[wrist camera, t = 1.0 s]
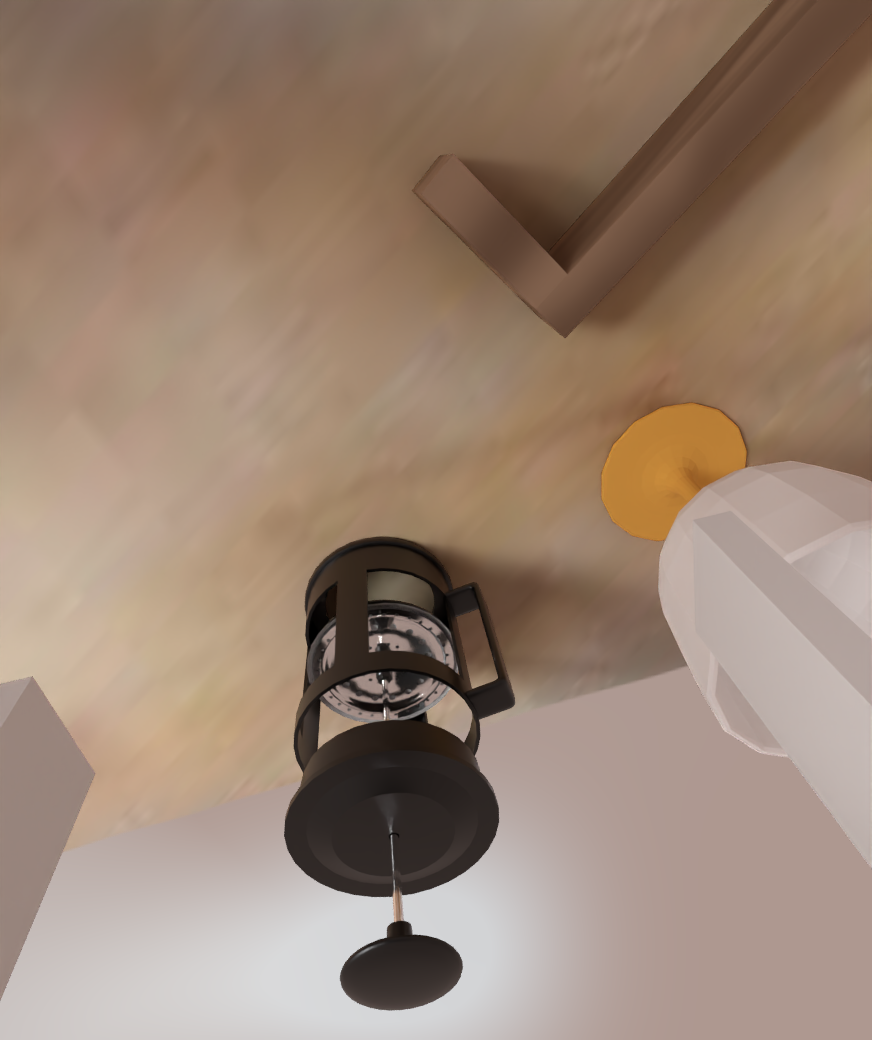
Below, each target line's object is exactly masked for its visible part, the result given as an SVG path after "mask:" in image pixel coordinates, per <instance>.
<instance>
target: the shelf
mask: <svg viewBox="0 0 872 1040" xmlns="http://www.w3.org/2000/svg"><path fill="white" fill-rule="evenodd" d="M871 14H872V0H773V1H772V2H771V3H770V4H769V6H768V7H767V8H766V9H765V10H764V11H763V12H762V13H761V15H760V16H759V17H758V18H757V19H756V20H755V21H754V22H753V24H752V25H751V26H750V27H749V28H748V29H747V30H746V31H745V32H744V34H743V35H742V36H741V37H740V38H739V39H738V40H737V41H736V43H735V44H734V45H733V46H732V47H731V48H730V49H729V50H728V51H727V53H726V54H725V55H724V56H723V57H722V58H721V59H720V60H719V62H718V63H717V64H716V65H715V66H714V67H713V68H712V69H711V70H710V72H709V73H708V74H707V75H706V76H705V77H704V78H703V79H702V81H701V82H700V83H699V84H698V85H697V86H696V87H695V88H694V90H693V91H692V92H691V93H690V94H689V95H688V96H687V97H686V98H685V100H684V101H683V102H682V103H681V104H680V105H679V106H678V107H677V109H676V110H675V111H674V112H673V113H672V114H671V115H670V116H669V117H668V119H667V120H666V121H665V122H664V123H663V124H662V125H661V126H660V128H659V129H658V130H657V131H656V132H655V133H654V134H653V135H652V137H651V138H650V139H649V140H648V141H647V142H646V143H645V144H644V145H643V147H642V148H641V149H640V150H639V151H638V152H637V153H636V154H635V156H634V157H633V158H632V159H631V160H630V161H629V162H628V163H627V164H626V166H625V167H624V168H623V169H622V170H621V171H620V172H619V173H618V175H617V176H616V177H615V178H614V179H613V180H612V181H611V182H610V183H609V185H608V186H607V187H606V188H605V189H604V190H603V191H602V192H601V194H600V195H599V196H598V197H597V198H596V199H595V200H594V201H593V203H592V204H591V205H590V206H589V207H588V208H587V209H586V210H585V211H584V213H583V214H582V215H581V216H580V217H579V218H578V219H577V220H576V222H575V223H574V224H573V225H572V226H571V227H570V228H569V229H568V230H567V232H566V233H565V234H564V235H563V236H562V237H561V238H560V239H559V241H558V242H557V243H556V244H555V245H554V246H553V247H552V248H551V250H550V251H549V252H548V253H547V252H546V251H545V250H544V249H543V248H542V247H541V246H540V244H539V243H538V242H537V241H536V240H535V239H534V238H533V237H532V236H531V235H530V234H529V233H528V232H527V231H526V230H525V229H524V228H523V227H522V226H521V224H520V223H519V222H518V221H517V220H516V219H515V218H514V217H513V216H512V215H511V214H510V213H509V212H508V211H507V210H506V209H505V208H504V207H503V205H502V204H501V203H500V202H499V201H498V200H497V199H496V198H495V197H494V196H493V195H492V194H491V193H490V192H489V191H488V190H487V189H486V188H485V187H484V185H483V184H482V183H481V182H480V181H479V180H478V179H477V178H476V177H475V176H474V175H473V174H472V173H471V172H470V171H469V170H468V169H467V168H466V167H465V165H464V164H463V163H462V162H461V161H460V160H459V159H458V158H457V157H456V156H455V155H454V154H450V155H442V156H439V158H438V159H437V160H436V161H435V163H434V164H433V165H432V166H431V168H430V169H429V170H428V171H427V173H426V174H425V175H424V176H423V178H422V179H421V180H420V181H419V183H418V184H417V185H416V186H415V188H414V189H413V190H412V191H413V192H414V193H415V194H416V195H417V196H418V197H419V198H420V199H421V200H422V201H423V202H424V203H425V204H426V205H427V206H428V207H429V208H430V209H431V210H432V211H433V212H434V213H435V214H436V215H437V216H438V217H439V218H440V219H441V220H442V221H443V222H444V223H445V224H446V225H447V226H448V227H449V228H450V229H451V230H452V231H453V232H454V233H455V234H456V235H457V236H458V237H459V238H460V239H461V240H462V241H463V242H464V243H465V244H466V245H467V246H468V247H469V248H470V249H471V250H472V251H473V252H474V253H475V254H476V255H477V256H478V257H479V258H480V259H481V260H482V261H483V262H484V263H485V264H486V265H487V266H488V267H489V268H490V269H491V270H492V271H493V272H494V273H495V274H496V275H497V276H498V277H499V278H500V279H501V280H502V281H503V282H504V283H505V284H506V285H507V286H508V287H509V288H510V289H511V290H512V291H513V292H514V293H515V294H516V295H517V296H518V297H519V298H520V299H521V300H522V301H523V302H524V303H525V304H526V305H527V306H528V307H529V308H530V309H531V310H532V311H533V312H534V313H535V314H536V315H538V316H539V317H540V318H541V319H542V320H543V321H544V322H546V323H547V324H548V325H549V326H551V327H552V328H553V329H554V330H556V331H557V332H558V333H559V334H560V335H562V336H563V337H564V338H566V337H567V336H568V335H569V334H570V333H571V332H572V331H573V329H574V328H575V327H576V326H577V325H578V324H579V323H580V322H581V321H582V320H583V319H584V318H585V317H586V316H587V315H588V314H589V313H590V311H591V310H592V309H593V308H594V307H595V306H596V305H597V304H598V303H599V302H600V301H601V300H602V299H603V298H604V297H605V296H606V295H607V293H608V292H609V291H610V290H611V289H612V288H613V287H614V286H615V285H616V284H617V283H618V282H619V281H620V280H621V279H622V278H623V277H624V275H625V274H626V273H627V272H628V271H629V270H630V269H631V268H632V267H633V266H634V265H635V264H636V263H637V262H638V261H639V260H640V259H641V257H642V256H643V255H644V254H645V253H646V252H647V251H648V250H649V249H650V248H651V247H652V246H653V245H654V244H655V243H656V242H657V241H658V239H659V238H660V237H661V236H662V235H663V234H664V233H665V232H666V231H667V230H668V229H669V228H670V227H671V226H672V225H673V224H674V223H675V221H676V220H677V219H678V218H679V217H680V216H681V215H682V214H683V213H684V212H685V211H686V210H687V209H688V208H689V207H690V206H691V205H692V203H693V202H694V201H695V200H696V199H697V198H698V197H699V196H700V195H701V194H702V193H703V192H704V191H705V190H706V189H707V188H708V187H709V185H710V184H711V183H712V182H713V181H714V180H715V179H716V178H717V177H718V176H719V175H720V174H721V173H722V172H723V171H724V170H725V169H726V167H727V166H728V165H729V164H730V163H731V162H732V161H733V160H734V159H735V158H736V157H737V156H738V155H739V154H740V153H741V152H742V151H743V149H744V148H745V147H746V146H747V145H748V144H749V143H750V142H751V141H752V140H753V139H754V138H755V137H756V136H757V135H758V134H759V133H760V131H761V130H762V129H763V128H764V127H765V126H766V125H767V124H768V123H769V122H770V121H771V120H772V119H773V118H774V117H775V116H776V115H777V113H778V112H779V111H780V110H781V109H782V108H783V107H784V106H785V105H786V104H787V103H788V102H789V101H790V100H791V99H792V98H793V97H794V95H795V94H796V93H797V92H798V91H799V90H800V89H801V88H802V87H803V86H804V85H805V84H806V83H807V82H808V81H809V80H810V79H811V77H812V76H813V75H814V74H815V73H816V72H817V71H818V70H819V69H820V68H821V67H822V66H823V65H824V64H825V63H826V62H827V61H828V59H829V58H830V57H831V56H832V55H833V54H834V53H835V52H836V51H837V50H838V49H839V48H840V47H841V46H842V45H843V44H844V43H845V41H846V40H847V39H848V38H849V37H850V36H851V35H852V34H853V33H854V32H855V31H856V30H857V29H858V28H859V27H860V26H861V25H862V23H863V22H864V21H865V20H866V19H867V18H868V17H869V16H870V15H871Z"/></svg>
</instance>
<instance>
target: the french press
mask: <svg viewBox="0 0 872 1040" xmlns="http://www.w3.org/2000/svg"><path fill="white" fill-rule="evenodd" d="M375 571H394V572H400V573H405V574H409V575H412V576H414V577H417V578H419V579H421V580H424V581H425V582H427V583H428V584H429V585H430V586H431V588H432V591H433V594H434V607H433V612H432V613H430V612H428V611H427V610H425V609H423V608H421V607H418V606H416V605H413V604H410V603H406V602H401V601H394V600H372V601H368V589H367V572H375ZM337 584H338V586H337V610H336V616H334V617H333V618H332V619H331V620H329V618H328V616H327V612H326V606H325V604H326V598H327V594H328V591H329V590H330V589H332V588H333V587H335V586H336V585H337ZM476 609H479V610H480V614H481V617H482V621H483V625H484V628H485V632H486V635H487V639H488V642H489V646H490V649H491V653H492V657H493V660H494V664H495V667H496V671H497V674H498V679H497V680H495V681H493V682H490V683H488V684H485V685H482V686H479V687H477V688H474V689H472V687H471V682H470V678H469V673H468V669H467V665H466V660H465V656H464V651H463V647H462V642H461V638H460V633H459V629H458V624H457V620H456V617H457V616H460V615H463V614H465V613H468V612H471V611H473V610H476ZM305 611H306V616H307V620H306V634H305V636H306V641H307V646H308V649H307V659H306V669H305V679H304V690H303V697H302V699H301V701H300V704H299V707H298V710H297V713H296V723H295V732H294V750H295V755H296V760H297V762H298V764H299V766H300V768H301V769H302V771H303V777H302V782H301V786H300V787H299V789H298V791H297V792H296V794H295V795H294V797H293V798H292V800H291V802H290V804H289V807H288V810H287V813H286V817H285V832H284V833H285V834H284V837H285V841H286V845H287V849H288V851H289V853H290V855H291V856H292V858H293V860H294V862H295V863H296V864H297V865H298V866H299V867H300V868H301V869H302V870H303V871H304V872H305V873H306V874H307V875H308V876H310V877H311V878H313V879H314V880H316V881H317V882H319V883H321V884H323V885H325V886H328V887H330V888H332V889H335V890H337V891H341V892H345V893H349V894H353V895H361V896H370V897H393V907H394V922H393V923H391V924H390V925H389V926H388V927H387V938H384V939H380V940H377V941H375V942H373V943H370V944H368V945H366V946H364V947H362V948H360V949H359V950H357V951H356V952H355V953H354V954H353V955H351V956H350V958H349V959H348V960H347V961H346V962H345V964H344V966H343V968H342V970H341V975H340V981H341V985H342V988H343V990H344V991H345V993H346V994H347V995H348V996H349V997H350V998H351V999H352V1000H354V1001H356V1002H357V1003H359V1004H361V1005H364V1006H367V1007H370V1008H375V1009H379V1010H404V1009H411V1008H415V1007H419V1006H423V1005H425V1004H428V1003H430V1002H433V1001H435V1000H436V999H438V998H440V997H442V996H444V995H445V994H446V993H447V992H449V991H450V990H451V989H452V988H453V987H454V986H455V985H456V984H457V982H458V980H459V979H460V977H461V973H462V969H463V966H462V959H461V957H460V955H459V953H458V952H457V951H456V950H455V949H454V948H453V947H452V946H451V945H449V944H448V943H446V942H444V941H442V940H440V939H437V938H433V937H429V936H423V935H412V927H411V924H410V923H408V922H406V921H404V919H403V905H402V895H408V894H414V893H417V892H421V891H425V890H429V889H432V888H434V887H437V886H439V885H442V884H444V883H446V882H449V881H450V880H452V879H454V878H456V877H457V876H459V875H461V874H462V873H464V872H465V871H467V870H468V869H469V868H470V867H471V866H473V865H474V864H475V863H476V862H478V860H479V859H480V858H481V857H482V856H483V855H484V853H485V852H486V851H487V850H488V849H489V847H490V844H491V843H492V841H493V839H494V837H495V835H496V831H497V827H498V823H499V808H498V803H497V800H496V796H495V793H494V790H493V788H492V786H491V785H490V783H489V782H488V780H487V779H486V777H485V776H484V775H483V774H482V773H481V772H480V769H479V766H478V763H477V760H476V758H475V754H476V752H477V749H478V745H479V740H480V723H479V719H482V718H485V717H487V716H490V715H493V714H496V713H499V712H501V711H504V710H507V709H509V708H512V707H513V706H514V705H515V697H514V693H513V690H512V687H511V683H510V680H509V677H508V673H507V670H506V667H505V663H504V660H503V657H502V653H501V650H500V647H499V644H498V640H497V637H496V634H495V630H494V627H493V624H492V620H491V617H490V614H489V610H488V607H487V604H486V602H485V599H484V597H483V595H482V592H481V590H480V587H479V586H478V584H477V583H474V582H473V583H470V584H467V585H464V586H462V587H459V588H456V589H454V590H453V587H452V583H451V580H450V577H449V575H448V573H447V571H446V570H445V568H444V566H443V565H442V564H441V563H440V562H439V561H438V559H437V558H436V557H435V556H434V555H432V554H431V553H430V552H428V551H427V550H425V549H424V548H423V547H421V546H418V545H416V544H414V543H412V542H409V541H405V540H401V539H397V538H388V537H375V538H365V539H362V540H358V541H355V542H351V543H349V544H347V545H345V546H343V547H341V548H339V549H337V550H335V551H334V552H333V553H331V554H330V555H329V556H327V557H326V558H325V559H324V560H323V561H322V562H321V563H320V565H319V566H318V567H317V568H316V569H315V571H314V573H313V575H312V576H311V578H310V580H309V583H308V586H307V590H306V594H305ZM458 671H459V675H458V674H457V673H458ZM450 688H452V689H453V690H455V691H456V692H457V693H458V694H459V695H460V696H461V697H462V698H463V699H464V700H465V702H466V703H467V705H468V706H469V708H470V709H471V711H472V717H473V718H472V723H471V728H470V731H469V734H468V736H467V738H466V740H465V742H462V741H461V740H460V739H459V738H458V737H456V736H455V735H453V734H451V733H450V732H448V731H446V730H445V729H442V728H439V727H436V726H434V725H431V724H428V720H427V713H426V711H427V710H428V709H430V708H431V707H433V706H434V705H436V704H437V703H438V702H439V701H440V700H441V699H442V698H443V697H444V696H445V695H446V694H447V692H448V691H449V690H450ZM321 701H322V702H323V703H324V704H325V705H326V706H328V707H329V708H330V709H331V710H333V711H335V712H337V713H338V714H340V715H342V716H344V717H347V718H350V719H353V720H356V721H361V722H367V723H368V724H364V725H361V726H357V727H354V728H352V729H350V730H347V731H345V732H343V733H341V734H339V735H337V736H335V737H334V738H332V739H331V740H329V741H328V742H326V743H325V744H324V745H323V746H322V747H320V748H319V749H318V733H319V718H320V702H321ZM317 749H318V750H317Z"/></svg>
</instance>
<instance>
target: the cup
mask: <svg viewBox="0 0 872 1040" xmlns="http://www.w3.org/2000/svg"><path fill="white" fill-rule="evenodd" d="M746 456H747V450H746V447H745V444H744V441H743V439H742V436H741V433H740V430H739V427H738V426H737V425H735V424H734V423H733V422H732V421H731V420H730V419H729V418H728V417H727V416H725V415H724V414H723V413H722V412H721V411H720V410H718V409H715V408H711V407H707V406H703V405H700V404H696V403H685V404H678V405H672V406H665V407H661V408H659V409H657V410H655V411H654V412H652V413H650V414H648V415H646V416H644V417H643V418H641V419H639V420H637V421H635V422H634V423H633V424H632V425H631V426H630V427H629V428H628V429H627V430H626V432H625V433H624V434H623V435H622V436H621V437H620V438H619V439H618V440H617V441H616V442H615V444H614V445H613V446H612V448H611V451H610V453H609V456H608V458H607V460H606V463H605V465H604V468H603V470H602V501H603V503H604V505H605V507H606V509H607V511H608V513H609V515H610V517H611V519H612V521H613V522H614V523H616V524H617V525H618V526H620V527H621V528H622V529H624V530H625V531H626V532H628V533H629V534H630V535H632V536H635V537H640V538H644V539H649V540H654V541H662V540H665V542H664V545H663V548H662V550H661V553H660V560H659V582H658V591H659V596H660V601H661V605H662V610H663V614H664V616H665V618H666V620H667V622H668V625H669V627H670V629H671V631H672V633H673V635H674V637H675V640H676V642H677V644H678V646H679V648H680V650H681V653H682V655H683V657H684V659H685V661H686V663H687V665H688V667H689V669H690V671H691V673H692V675H693V677H694V679H695V681H696V683H697V685H698V687H699V689H700V691H701V693H702V694H703V696H704V698H705V699H706V701H707V703H708V704H709V706H710V708H711V709H712V711H713V713H714V715H715V716H716V718H717V719H718V722H719V723H720V725H721V727H722V728H723V730H724V731H725V732H727V733H729V734H730V735H732V736H733V737H735V738H737V739H738V740H739V741H741V742H743V743H744V744H746V745H747V746H749V747H750V748H752V749H754V750H755V751H757V752H759V753H762V754H769V755H775V756H782V757H789V756H788V755H787V754H786V752H785V751H784V750H783V748H782V747H781V746H780V744H779V743H778V742H777V740H776V739H775V738H774V736H773V735H772V734H771V732H770V731H769V729H768V728H767V727H766V725H765V724H764V723H763V721H762V720H761V719H760V717H759V716H758V715H757V713H756V712H755V711H754V709H753V708H752V707H751V705H750V704H749V702H748V701H747V700H746V698H745V697H744V696H743V694H742V693H741V692H740V690H739V689H738V688H737V686H736V685H735V684H734V682H733V681H732V679H731V678H730V677H729V675H728V674H727V673H726V671H725V670H724V669H723V667H722V666H721V665H720V663H719V662H718V661H717V659H716V658H715V657H714V655H713V654H712V652H711V651H710V650H709V648H708V647H707V646H706V644H705V643H704V642H703V640H702V639H701V638H700V636H699V635H698V634H697V632H696V631H695V596H694V558H693V520H694V519H698V518H703V517H707V516H711V515H715V514H719V513H724V512H728V511H732V512H733V513H734V514H735V515H736V516H737V517H738V518H739V519H741V520H742V521H743V522H744V523H745V524H746V525H747V526H748V527H749V528H750V529H752V530H753V531H754V532H755V533H756V534H757V535H758V536H759V537H760V538H761V539H763V540H764V541H765V542H766V543H767V544H768V545H769V546H770V547H771V548H772V549H773V550H775V551H776V552H777V553H778V554H779V555H780V556H781V557H782V558H783V559H784V560H786V561H787V562H788V563H789V564H790V565H791V566H792V567H793V568H794V569H795V570H797V571H798V572H799V573H800V574H801V575H802V576H803V577H804V578H805V579H806V580H808V581H809V582H810V583H811V584H812V585H813V586H814V587H815V588H816V589H817V590H819V591H820V592H821V593H822V594H823V595H824V596H825V597H826V598H827V599H828V600H830V601H831V602H832V603H833V604H834V605H835V606H836V607H837V608H838V609H839V610H841V611H842V612H843V613H844V614H845V615H846V616H847V617H848V618H849V619H850V620H852V621H853V622H854V623H855V624H856V625H857V626H858V627H859V628H860V629H861V630H863V631H864V632H865V633H866V634H867V635H868V636H869V637H870V638H871V639H872V481H869V480H867V479H865V478H862V477H860V476H856V475H852V474H848V473H844V472H840V471H836V470H832V469H828V468H824V467H820V466H816V465H811V464H806V463H801V462H796V461H792V460H791V461H784V462H778V463H771V464H765V465H758V466H752V467H747V468H745V465H746Z"/></svg>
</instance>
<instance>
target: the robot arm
mask: <svg viewBox="0 0 872 1040" xmlns="http://www.w3.org/2000/svg"><path fill="white" fill-rule="evenodd" d="M693 558H694V596H695V631H696V632H697V634H698V635H699V636H700V638H701V639H702V640H703V642H704V643H705V644H706V646H707V647H708V648H709V650H710V651H711V652H712V654H713V655H714V657H715V658H716V659H717V661H718V662H719V663H720V665H721V666H722V667H723V669H724V670H725V671H726V673H727V674H728V675H729V677H730V678H731V679H732V681H733V682H734V684H735V685H736V686H737V688H738V689H739V690H740V692H741V693H742V694H743V696H744V697H745V698H746V700H747V701H748V702H749V704H750V705H751V707H752V708H753V709H754V711H755V712H756V713H757V715H758V716H759V717H760V719H761V720H762V721H763V723H764V724H765V725H766V727H767V728H768V729H769V731H770V732H771V734H772V735H773V736H774V738H775V739H776V740H777V742H778V743H779V744H780V746H781V747H782V748H783V750H784V751H785V752H786V754H787V755H788V756H789V758H790V759H791V761H792V762H793V763H794V765H795V766H796V767H797V769H798V770H799V771H800V773H801V774H802V775H803V777H804V778H805V779H806V781H807V782H808V783H809V785H810V786H811V788H812V789H813V790H814V792H815V793H816V794H817V795H818V797H819V798H820V800H821V801H822V802H823V804H824V805H825V806H826V808H827V809H828V811H829V812H830V813H831V815H832V816H833V817H834V819H835V820H836V821H837V823H838V824H839V825H840V826H841V828H842V829H843V831H844V832H845V833H846V835H847V836H848V837H849V839H850V840H851V841H852V843H853V844H854V846H855V847H856V848H857V850H858V851H859V852H860V854H861V855H862V856H863V858H864V859H865V860H866V862H867V863H868V864H869V866H870V867H871V868H872V639H871V638H870V637H869V636H868V635H867V634H866V633H865V632H864V631H863V630H861V629H860V628H859V627H858V626H857V625H856V624H855V623H854V622H853V621H852V620H850V619H849V618H848V617H847V616H846V615H845V614H844V613H843V612H842V611H841V610H839V609H838V608H837V607H836V606H835V605H834V604H833V603H832V602H831V601H830V600H828V599H827V598H826V597H825V596H824V595H823V594H822V593H821V592H820V591H819V590H817V589H816V588H815V587H814V586H813V585H812V584H811V583H810V582H809V581H808V580H806V579H805V578H804V577H803V576H802V575H801V574H800V573H799V572H798V571H797V570H795V569H794V568H793V567H792V566H791V565H790V564H789V563H788V562H787V561H786V560H784V559H783V558H782V557H781V556H780V555H779V554H778V553H777V552H776V551H775V550H773V549H772V548H771V547H770V546H769V545H768V544H767V543H766V542H765V541H764V540H763V539H761V538H760V537H759V536H758V535H757V534H756V533H755V532H754V531H753V530H752V529H750V528H749V527H748V526H747V525H746V524H745V523H744V522H743V521H742V520H741V519H739V518H738V517H737V516H736V515H735V514H734V513H733V512H732V511H728V512H724V513H719V514H715V515H711V516H707V517H703V518H698V519H694V520H693ZM94 775H95V772H94V770H93V769H92V767H91V766H90V764H89V763H88V761H87V760H86V758H85V756H84V755H83V753H82V752H81V750H80V749H79V747H78V746H77V744H76V743H75V741H74V739H73V738H72V736H71V735H70V733H69V732H68V730H67V729H66V727H65V726H64V724H63V722H62V721H61V719H60V718H59V716H58V715H57V713H56V712H55V710H54V709H53V707H52V706H51V704H50V702H49V701H48V699H47V698H46V696H45V695H44V693H43V692H42V690H41V689H40V687H39V685H38V684H37V682H36V681H35V679H34V678H33V676H32V677H28V678H24V679H19V680H15V681H11V682H7V683H3V684H0V1000H1V998H2V995H3V993H4V990H5V988H6V985H7V983H8V981H9V978H10V976H11V973H12V971H13V969H14V966H15V964H16V962H17V959H18V957H19V955H20V952H21V950H22V947H23V945H24V942H25V940H26V938H27V935H28V933H29V931H30V928H31V926H32V924H33V921H34V919H35V916H36V913H37V912H38V909H39V907H40V904H41V902H42V900H43V897H44V895H45V892H46V890H47V888H48V885H49V883H50V881H51V878H52V876H53V873H54V871H55V869H56V866H57V864H58V861H59V859H60V856H61V854H62V852H63V849H64V847H65V845H66V842H67V840H68V838H69V835H70V833H71V830H72V828H73V826H74V823H75V821H76V818H77V816H78V814H79V811H80V809H81V806H82V804H83V802H84V799H85V797H86V795H87V792H88V790H89V787H90V785H91V783H92V780H93V778H94Z"/></svg>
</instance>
